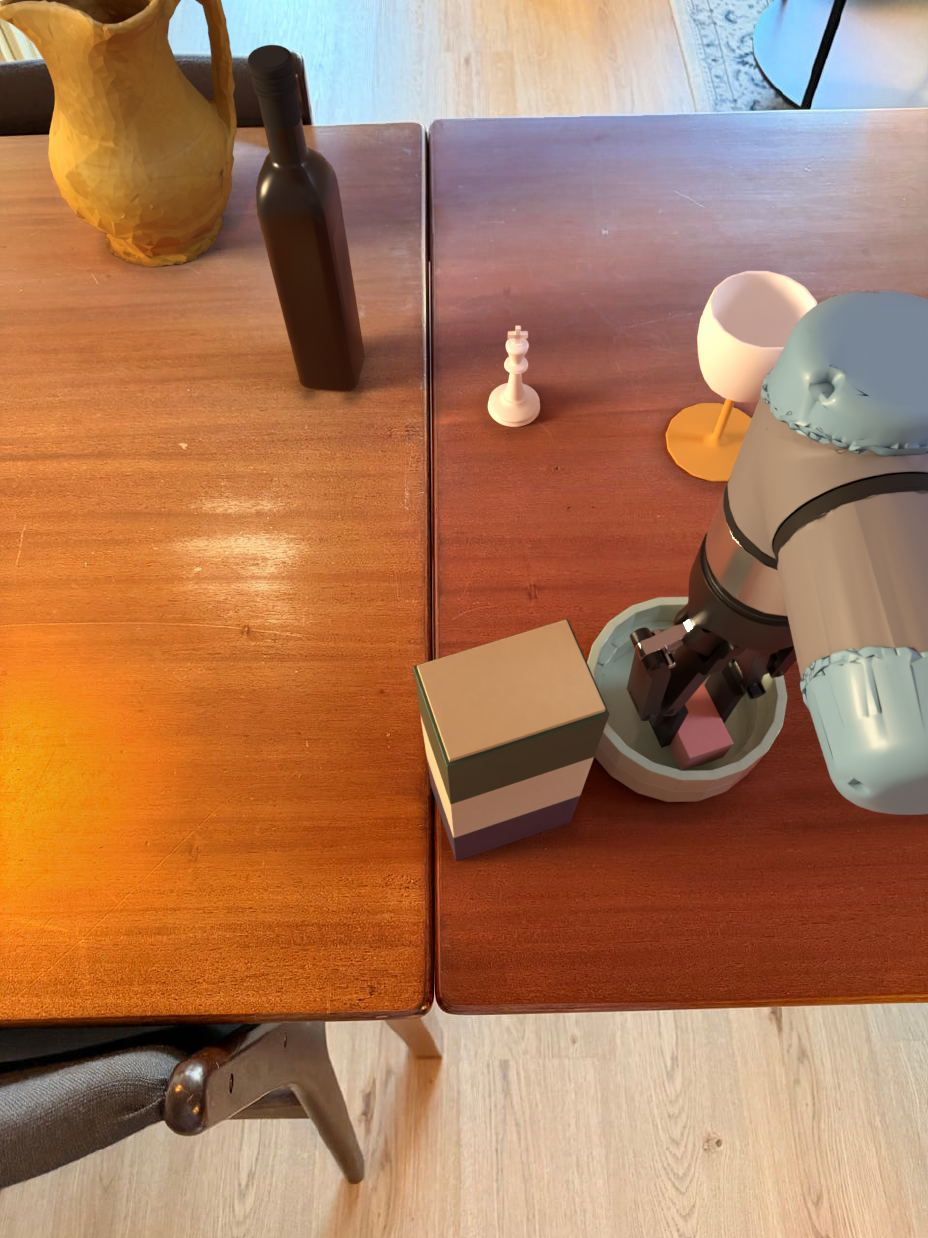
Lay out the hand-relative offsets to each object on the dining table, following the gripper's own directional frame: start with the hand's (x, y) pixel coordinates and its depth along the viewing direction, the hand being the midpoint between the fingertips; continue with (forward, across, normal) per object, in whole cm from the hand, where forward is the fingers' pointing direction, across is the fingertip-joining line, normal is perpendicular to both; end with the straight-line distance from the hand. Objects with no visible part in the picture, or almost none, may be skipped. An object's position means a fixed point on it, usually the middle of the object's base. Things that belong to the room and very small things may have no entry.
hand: (683, 721), depth 68 cm
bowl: (+2, 0, -2) cm, 3 cm away
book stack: (+2, +15, +1) cm, 15 cm away
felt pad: (-20, +15, +1) cm, 25 cm away
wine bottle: (+2, +16, -45) cm, 47 cm away
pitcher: (+2, +27, -70) cm, 75 cm away
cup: (+2, -15, -25) cm, 29 cm away
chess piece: (+2, +1, -35) cm, 35 cm away
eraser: (0, 0, 0) cm, 0 cm away
